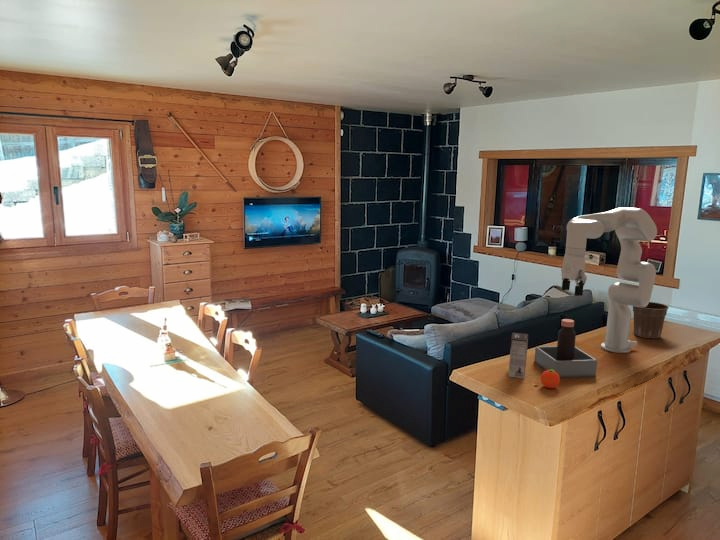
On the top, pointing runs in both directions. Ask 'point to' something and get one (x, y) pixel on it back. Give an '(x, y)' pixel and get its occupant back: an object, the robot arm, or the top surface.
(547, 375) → the clementine
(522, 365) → the coffee box
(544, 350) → the tote
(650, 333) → the plant pot
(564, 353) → the vinegar
